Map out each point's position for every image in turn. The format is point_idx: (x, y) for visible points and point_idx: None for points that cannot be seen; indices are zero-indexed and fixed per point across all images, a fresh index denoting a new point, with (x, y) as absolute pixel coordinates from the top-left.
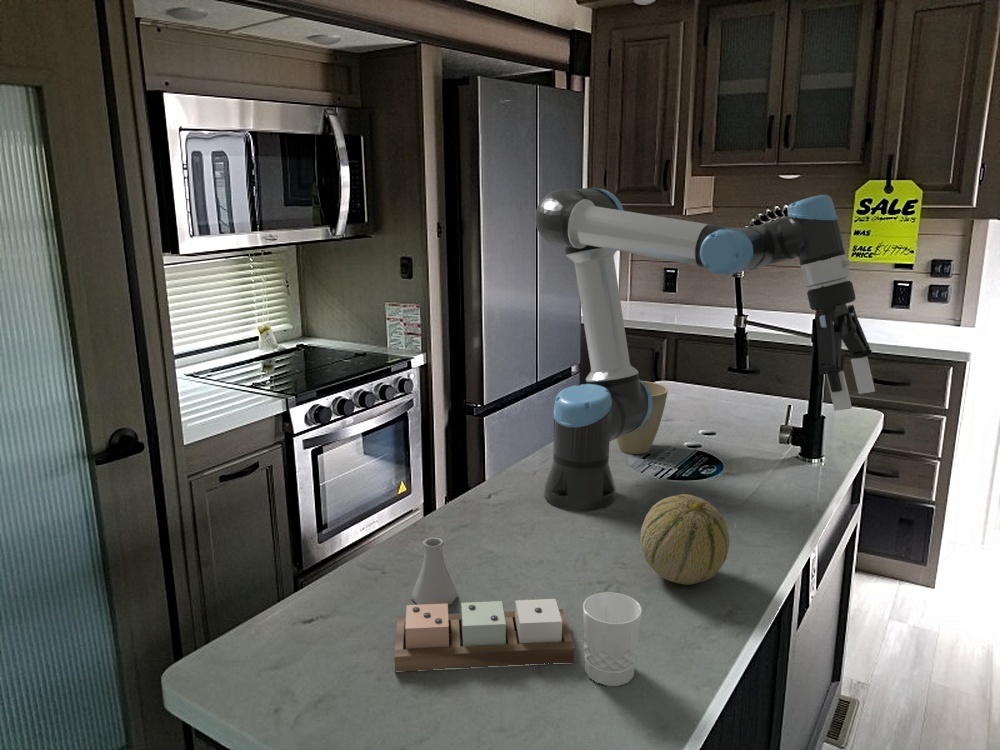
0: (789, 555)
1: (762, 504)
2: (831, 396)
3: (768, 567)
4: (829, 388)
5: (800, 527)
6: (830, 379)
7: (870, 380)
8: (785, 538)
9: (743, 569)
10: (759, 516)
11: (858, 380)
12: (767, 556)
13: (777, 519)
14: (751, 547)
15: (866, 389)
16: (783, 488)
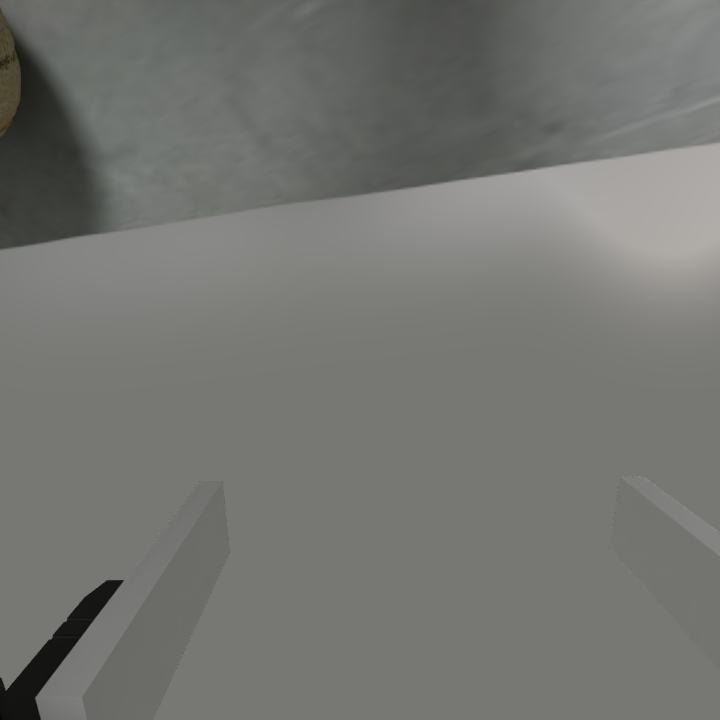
0: (260, 202)
1: (496, 9)
2: (161, 534)
3: (179, 189)
4: (126, 577)
5: (408, 167)
6: (22, 687)
7: (656, 598)
8: (329, 162)
9: (126, 149)
10: (409, 44)
11: (679, 543)
12: (220, 166)
13: (419, 98)
14: (229, 114)
15: (626, 530)
16: (656, 9)
